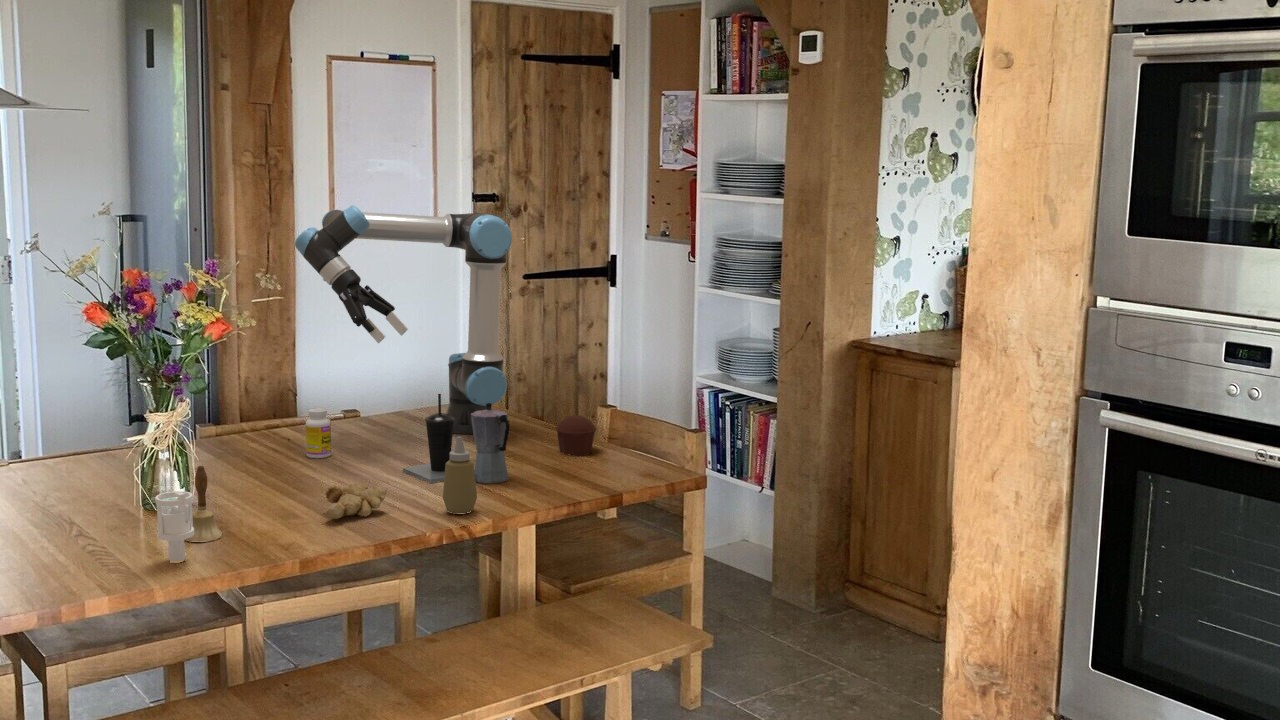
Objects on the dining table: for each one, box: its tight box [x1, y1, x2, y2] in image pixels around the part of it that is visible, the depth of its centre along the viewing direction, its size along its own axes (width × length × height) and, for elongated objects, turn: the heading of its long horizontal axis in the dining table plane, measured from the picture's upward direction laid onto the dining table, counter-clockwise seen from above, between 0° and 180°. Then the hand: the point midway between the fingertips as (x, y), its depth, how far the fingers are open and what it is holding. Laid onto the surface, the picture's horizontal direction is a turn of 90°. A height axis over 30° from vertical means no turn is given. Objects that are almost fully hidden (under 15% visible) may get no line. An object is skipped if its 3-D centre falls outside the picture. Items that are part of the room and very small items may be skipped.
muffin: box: [555, 414, 597, 456], centre depth 350 cm, size 12×11×10 cm
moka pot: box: [471, 403, 511, 484], centre depth 318 cm, size 10×15×20 cm, turn 45°
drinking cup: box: [424, 393, 455, 472], centre depth 324 cm, size 8×8×20 cm
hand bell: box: [186, 465, 223, 541], centre depth 271 cm, size 8×8×16 cm
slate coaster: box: [402, 463, 475, 484], centre depth 326 cm, size 14×14×1 cm
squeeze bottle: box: [442, 436, 478, 513], centre depth 292 cm, size 8×8×18 cm
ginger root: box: [322, 483, 388, 520], centre depth 291 cm, size 16×16×8 cm
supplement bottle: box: [305, 407, 332, 459], centre depth 340 cm, size 7×7×13 cm
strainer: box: [154, 490, 194, 561], centre depth 256 cm, size 7×7×15 cm
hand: (393, 336), depth 334 cm, fingers open, 13 cm apart
